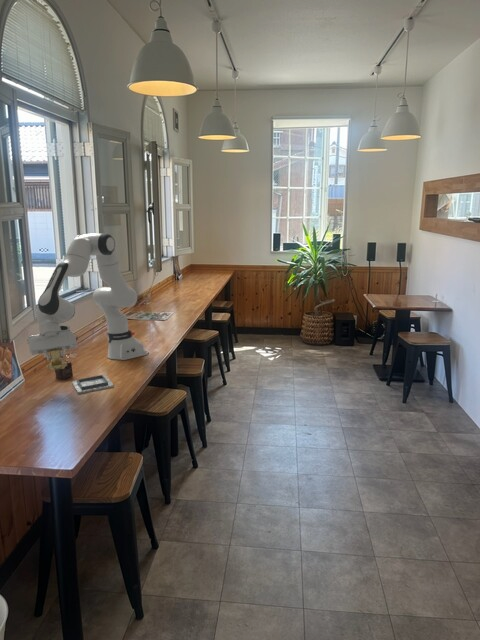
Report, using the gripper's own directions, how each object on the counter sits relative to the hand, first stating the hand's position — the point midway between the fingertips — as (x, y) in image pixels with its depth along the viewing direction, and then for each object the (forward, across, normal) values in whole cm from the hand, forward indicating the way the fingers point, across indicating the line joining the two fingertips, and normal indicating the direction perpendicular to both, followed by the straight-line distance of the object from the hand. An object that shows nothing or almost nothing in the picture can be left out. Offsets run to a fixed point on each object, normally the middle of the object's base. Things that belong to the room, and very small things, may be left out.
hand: (56, 358), depth 218 cm
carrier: (+12, +14, +10) cm, 21 cm away
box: (-2, +5, +25) cm, 26 cm away
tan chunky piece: (+3, 0, +4) cm, 4 cm away
